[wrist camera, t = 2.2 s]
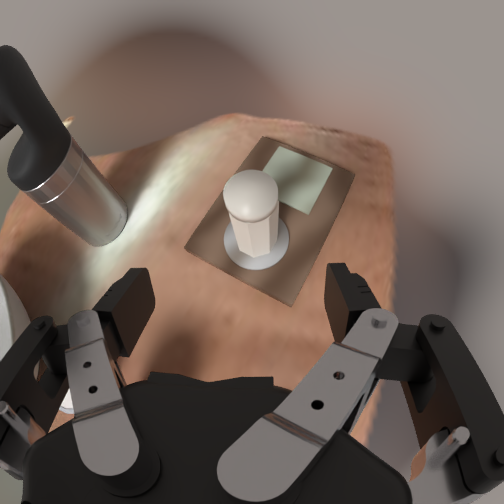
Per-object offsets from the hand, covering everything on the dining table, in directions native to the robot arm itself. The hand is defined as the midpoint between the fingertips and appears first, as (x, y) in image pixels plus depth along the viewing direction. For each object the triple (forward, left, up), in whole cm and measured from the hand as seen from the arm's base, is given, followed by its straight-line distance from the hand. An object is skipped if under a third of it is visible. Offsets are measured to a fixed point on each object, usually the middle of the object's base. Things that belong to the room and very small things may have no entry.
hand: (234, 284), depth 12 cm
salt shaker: (-6, +10, -22) cm, 25 cm away
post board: (-6, +16, -24) cm, 29 cm away
